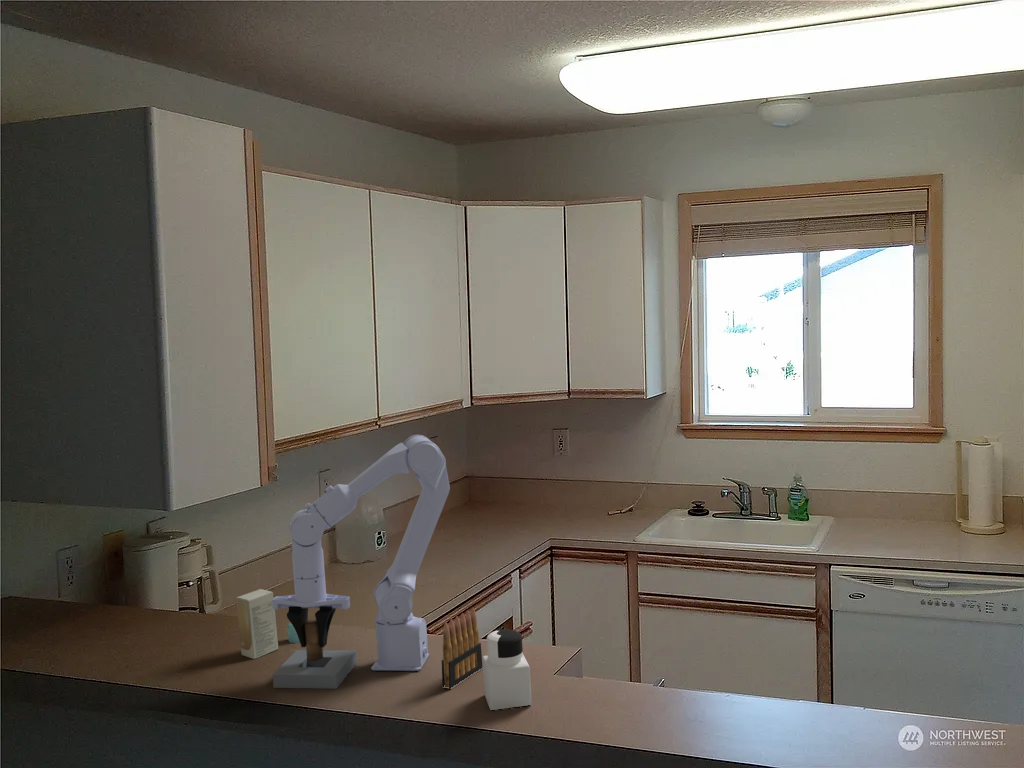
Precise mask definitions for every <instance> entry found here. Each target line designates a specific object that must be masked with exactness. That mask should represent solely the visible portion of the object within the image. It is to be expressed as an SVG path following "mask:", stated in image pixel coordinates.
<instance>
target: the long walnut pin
mask: <svg viewBox="0 0 1024 768" xmlns="http://www.w3.org/2000/svg"><path fill="white" fill-rule="evenodd" d="M304 623H305V638H306V647H305V650H306V653H307V660H309V661H317V660H320V659H322V658H323V648H324V647H323V648H321V647H320V646H319V632H318V626H317V621H316V618H313V619H312V618H311V619H308V620H307V621H305V622H304Z"/></svg>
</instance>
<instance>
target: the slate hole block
mask: <svg viewBox="0 0 1024 768" xmlns="http://www.w3.org/2000/svg"><path fill="white" fill-rule="evenodd" d="M357 659H358V658H357V650H356V649H355V650H343V649H342V650H339V649H337V650H335V649H334V650H333V649H331V650H329V649H328V650H325V649H324V650H323V658H322V659H320V660H317V661H309V660H307V653H306V649H296V650H295V651H294V652H293V654H291V655H290V656H289V657H288V659H286V661H284V662H283V663H282V665H281V666H279V667H278V668H277V670H276V671H274V672H273V674H272V684H273V687H272V688H273V689H330V690H331V689H333V690H334V689H338V687H339V686H340V685H341V684H342V683H343V681H344V680H345V679H346V677H347V676H348V675H349V674H348V673H351V671H352V670H353V668H354V667H355V666H356V665H357V663H358V662H357V661H358V660H357ZM355 664H356V665H355ZM354 665H355V666H354ZM351 669H352V670H351ZM347 674H348V675H347ZM344 678H345V679H344ZM340 683H341V684H340Z"/></svg>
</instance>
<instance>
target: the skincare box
mask: <svg viewBox="0 0 1024 768" xmlns="http://www.w3.org/2000/svg"><path fill="white" fill-rule="evenodd" d="M273 598H274V592H273V591H270V590H266V589H262V588H259V589H256V590H254V591H251V592H247V593H244V594H243V595H239V596H236V598H235V599H236V609H237V620H238V630H239V639H240V651H241V655H242V656H244V657H247V658H249V659H253V660H255V659H258V658H260V657H262V656H264V655H268V654H270V653H272V652H274V651H276V650H279V642H278V629H277V622H276V621H277V619H276V609H273V606H272V599H273Z"/></svg>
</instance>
